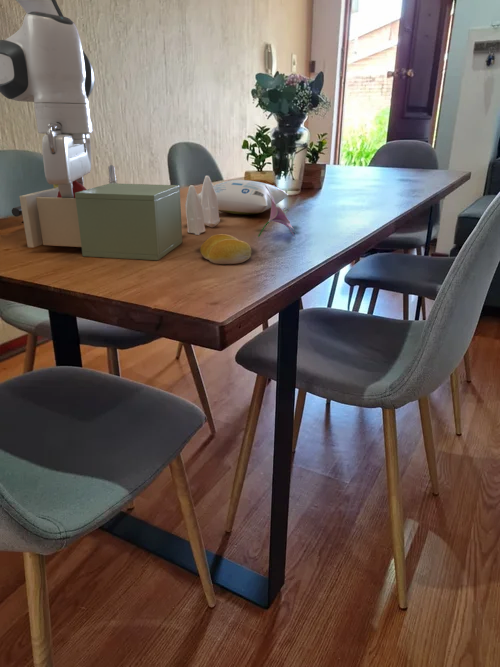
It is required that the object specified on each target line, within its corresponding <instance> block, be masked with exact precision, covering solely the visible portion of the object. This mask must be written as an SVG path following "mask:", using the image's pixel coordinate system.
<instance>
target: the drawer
mask: <svg viewBox="0 0 500 667" xmlns="http://www.w3.org/2000/svg"><path fill="white" fill-rule="evenodd" d="M58 192H59V188H58V187H57V188H54V187H53V188H48V189H44V190H40V191H35V192H31V193H27V194H23V195H19V203H20V205H18V206H14V207H12V208H11V214H12V216H14V217H21V216H22V221H23V227H24V232H25V238H26V244H27V248H33V249H34V248H36V247H39V246H41V245H43V246H54V247H71V248H74V247H76V248H82V246H81V238H80V230H79V222H78V214H77V206H76V198H58V197H57V195H58Z"/></svg>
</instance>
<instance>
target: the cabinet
mask: <svg viewBox="0 0 500 667" xmlns="http://www.w3.org/2000/svg"><path fill="white" fill-rule="evenodd" d="M116 183H117V182H116ZM116 183H110V184H109V183H106V184H103V185H99V186H96V187H91V188H88V189H87V188H86V189H87V190H83V191H80V192H76V193H75V198H76V206H77V214H78V222H79V230H80V238H81V246H82V247H81V254H82V257H86V258H87V257H89V258H105V259H124V260H125V259H126V260H143V261H159V260H161V259H162V258H163V257H165V256H166V255H168V254H169V253H170V252H172V251H173V250H174V249H176V248H177V247H179V246H180V245H181V244H182V243H183V229H182V228H183V226H182V207H181V205H182V204H181V186H180V184H151V183H149V184H147V183H117V184H116Z"/></svg>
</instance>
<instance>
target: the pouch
mask: <svg viewBox="0 0 500 667" xmlns="http://www.w3.org/2000/svg"><path fill="white" fill-rule="evenodd" d="M264 184H265V185H264ZM213 187H214V190H215V192H216V195H217V200H218V211H219V212H221V213H226V214H235V215H256V214H261V213H264V212H266V211H267V210H269V209H271V199H272V196H273V198H274V201H275V204H276V205H277V204H279V203H280V202H283V200H285V199H286V198H287V197H288V196H289V194H288V193H287V192H285V191H284V190H283V189H281V188H280V187H277V186H275V185H272V184H270V183H265V182H261V181H254V180H247V179H231V180H226V181H223V182H220V183H216V184H213ZM266 187H267V188H268V189H267V188H266ZM268 190H269V191H270V193H271V194H270V193H269V191H268ZM197 195H198V197H199V199H200V202H201V191H200V192H199V193H197ZM268 195H269V196H270V198H271V199H270V198H269V196H268ZM271 195H272V196H271ZM272 201H273V200H272Z"/></svg>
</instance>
